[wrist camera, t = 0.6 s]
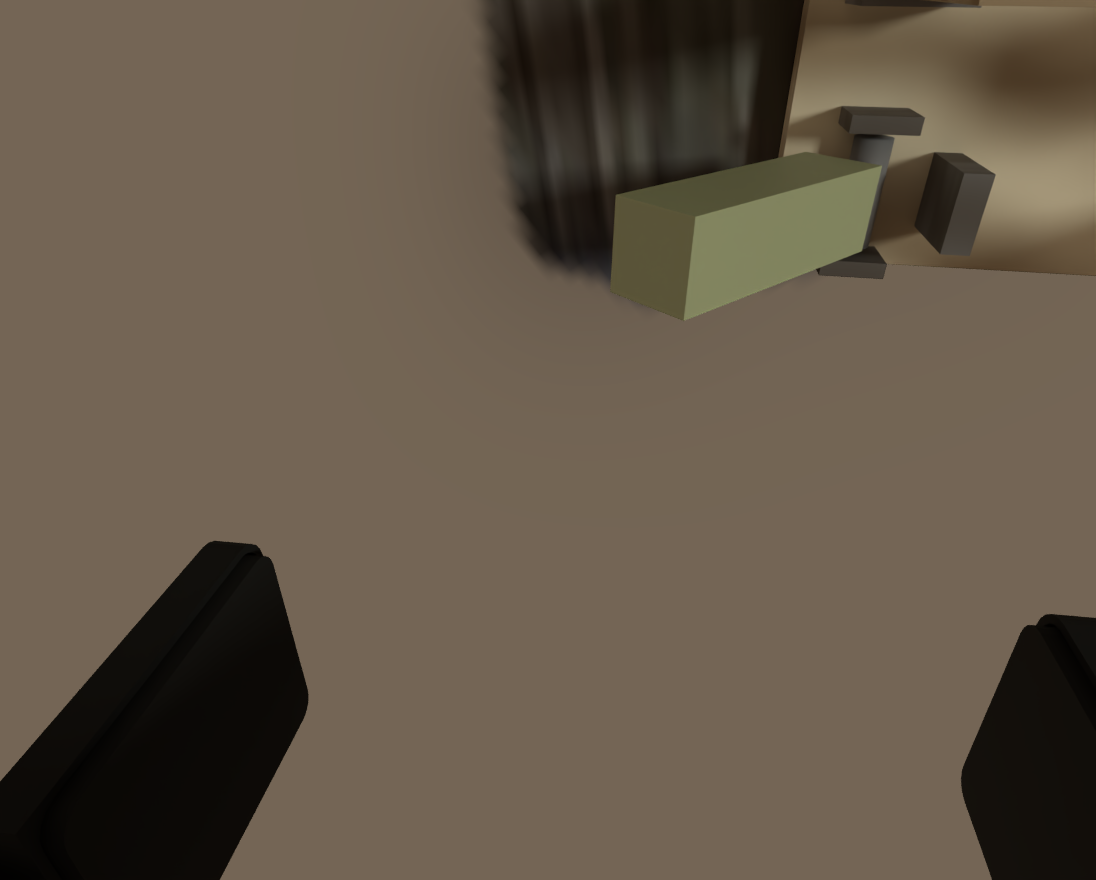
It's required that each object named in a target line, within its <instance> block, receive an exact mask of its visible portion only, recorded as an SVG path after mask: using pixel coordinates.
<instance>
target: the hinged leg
mask: <svg viewBox="0 0 1096 880" xmlns="http://www.w3.org/2000/svg"><path fill="white" fill-rule="evenodd" d="M894 140H895V138H894V137H891V136H887V135H878V134H856V135H854V140H853V144H852V149H851V153H850V158H849V160H848V159H843V158H837V157H832V156H826V155H821V154H815V153H810V152H803V153H798V154H794V155H789V156H785V157H781V158H776V159H772V160H767V161H763V162H759V163H754V164H750V165H745V166H741V167H737V168H732V169H728V170H723V171H719V172H714V173H710V174H706V175H701V176H697V177H692V178H688V179H684V180H679V181H675V182H670V183H666V184H662V185H657V186H653V187H648V188H644V189H640V190H635V191H631V192H626V193H622V194H617V195H616V200H615V218H614V236H613V254H612V272H611V289H610V292H612V293H614V294H617V295H619V296H622V297H624V298H627V299H630V300H632V301H635V302H637V303H640V304H642V305H645V306H647V307H650V308H652V309H655V310H657V311H660V312H663V313H665V314H668V315H670V316H673V317H675V318H678V319H680V320H683V321H685V320H687V319H690V318H692V317H695V316H697V315H700V314H702V313H705V312H708V311H710V310H713V309H715V308H718V307H720V306H723V305H725V304H728V303H731V302H733V301H736V300H738V299H741V298H743V297H746V296H748V295H751V294H754V293H756V292H759V291H761V290H764V289H766V288H769V287H771V286H774V285H777V284H779V283H782V282H784V281H787V280H789V279H792V278H794V277H797V276H800V275H802V274H805V273H807V272H810V271H812V270H815V269H817V268H820V267H823V266H825V265H828V264H830V263H833V262H835V261H838V260H840V259H843V258H846V257H848V256H851V255H853V254H856V253H858V252H861V251H862V249H866V248H868V246H869V242H870V238H871V234H872V230H873V226H874V222H875V218H876V213H877V209H878V205H879V201H880V197H881V193H882V189H883V185H884V181H885V177H886V173H887V168H888V164H889V160H890V156H891V152H892V148H893V144H894Z"/></svg>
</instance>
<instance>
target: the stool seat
mask: <svg viewBox="0 0 1096 880" xmlns="http://www.w3.org/2000/svg"><path fill="white" fill-rule="evenodd" d="M856 134H878V135H887V136H891V137H894V138H895V140H894V144H893V148H892V152H891V156H890V160H889V164H888V168H887V173H886V177H885V181H884V185H883V189H882V193H881V197H880V201H879V205H878V209H877V213H876V218H875V222H874V226H873V230H872V234H871V238H870V242H869V246H868V248H866V249H862V251H861V252H858V253H856V254H853V255H851V256H848V257H846V258H843V259H840V260H838V261H835V262H833V263H830V264H828V265H825V266H823V267H820V268H817V269H816V270H817V272H818V274H819V275H824V276H841V277H858V278H874V279H883V277H884V273H885V269H886V265H887V264H896V265H897V264H898V265H914V266H931V267H949V268H966V269H984V270H1001V271H1019V272H1036V273H1055V274H1072V275H1089V276H1096V0H804V6H803V12H802V18H801V24H800V30H799V36H798V42H797V48H796V54H795V60H794V66H793V72H792V78H791V84H790V90H789V96H788V102H787V108H786V114H785V120H784V126H783V132H782V138H781V144H780V150H779V156H778V158H781V157H785V156H789V155H794V154H798V153H803V152H810V153H815V154H821V155H826V156H832V157H837V158H843V159H848V160H849V158H850V153H851V149H852V144H853V140H854V135H856Z"/></svg>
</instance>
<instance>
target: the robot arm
mask: <svg viewBox="0 0 1096 880" xmlns="http://www.w3.org/2000/svg"><path fill="white" fill-rule="evenodd" d="M307 706H308V689H307V685H306V682H305V678H304V674H303V671H302V667H301V664H300V661H299V657H298V653H297V649H296V646H295V642H294V638H293V635H292V631H291V627H290V624H289V620H288V616H287V613H286V609H285V605H284V602H283V598H282V595H281V591H280V587H279V584H278V581H277V576H276V573H275V569H274V565H273V563H272V561H271V559H270V558H269V557H266V556H263V554H262V552H261V550H260V548H258V547H257V546H256V545H253V544H244V543H233V542H222V541H213V542H209V543H208V544H207V545H205V546H204V547H203V548H202V549H201V550H200V551H199V553H198V554H197V555H196V556H195V557H194V558H193V560H192V561H191V562H190V563H189V564H188V565H187V566H186V568H185V569H184V570H183V571H182V572H181V573H180V575H179V576H178V577H177V578H176V579H175V580H174V581H173V583H172V584H171V585H170V586H169V587H168V588H167V590H166V591H165V592H164V593H163V594H162V595H161V596H160V598H159V599H158V600H157V601H156V602H155V604H154V605H153V606H152V607H151V608H150V609H149V610H148V611H147V613H146V614H145V615H144V616H143V617H142V618H141V620H140V621H139V622H138V623H137V624H136V625H135V626H134V628H133V629H132V630H131V631H130V632H129V633H128V635H127V636H126V637H125V638H124V639H123V640H122V642H121V643H120V644H119V645H118V646H117V647H116V649H115V650H114V651H113V652H112V653H111V654H110V655H109V657H108V658H107V659H106V660H105V661H104V662H103V664H102V665H101V666H100V667H99V668H98V669H97V670H96V672H95V673H94V674H93V675H92V676H91V677H90V678H89V680H88V681H87V682H86V683H85V684H84V685H83V687H82V688H81V689H80V690H79V691H78V692H77V694H76V695H75V696H74V697H73V698H72V699H71V701H70V702H69V703H68V704H67V705H66V706H65V707H64V709H63V710H62V711H61V712H60V713H59V714H58V716H57V717H56V718H55V719H54V720H53V721H52V722H51V724H50V725H49V726H48V727H47V728H46V729H45V730H44V732H43V733H42V734H41V735H40V736H39V737H38V738H37V740H36V741H35V742H34V743H33V744H32V745H31V747H30V748H29V749H28V750H27V751H26V752H25V754H24V755H23V756H22V757H21V758H20V759H19V761H18V762H17V763H16V764H15V765H14V766H13V767H12V769H11V770H10V771H9V772H8V773H7V774H6V775H5V777H4V778H3V779H2V780H1V781H0V880H220V878H221V876H222V874H223V872H224V871H225V869H226V867H227V865H228V863H229V861H230V859H231V857H232V855H233V853H234V851H235V849H236V848H237V845H238V844H239V842H240V840H241V838H242V836H243V834H244V832H245V830H246V828H247V826H248V825H249V822H250V821H251V819H252V817H253V815H254V813H255V811H256V809H257V807H258V805H259V803H260V801H261V800H262V798H263V796H264V794H265V792H266V790H267V788H268V786H269V784H270V782H271V780H272V778H273V777H274V775H275V773H276V771H277V769H278V767H279V765H280V763H281V761H282V759H283V757H284V755H285V754H286V752H287V750H288V748H289V746H290V744H291V742H292V740H293V738H294V736H295V734H296V732H297V731H298V729H299V727H300V724H301V723H302V721H303V719H304V716H305V714H306V710H307ZM961 786H962V793H963V797H964V801H965V804H966V807H967V810H968V812H969V815H970V818H971V821H972V824H973V827H974V829H975V832H976V835H977V838H978V841H979V844H980V846H981V849H982V852H983V855H984V858H985V861H986V863H987V866H988V869H989V872H990V875H991V877H992V880H1096V618H1089V617H1078V616H1067V615H1055V614H1047V615H1044V616H1043V617H1041V618H1040V620H1039V621H1038V623H1037V625H1036V626H1035V625H1027V626H1026V627H1024V629H1023V630H1022V632H1021V633H1020V636H1019V638H1018V640H1017V643H1016V645H1015V647H1014V650H1013V652H1012V654H1011V657H1010V659H1009V661H1008V664H1007V666H1006V668H1005V671H1004V673H1003V675H1002V678H1001V680H1000V683H999V685H998V687H997V689H996V692H995V694H994V696H993V698H992V701H991V703H990V706H989V708H988V710H987V712H986V715H985V717H984V720H983V722H982V724H981V727H980V729H979V731H978V734H977V736H976V738H975V740H974V743H973V745H972V747H971V750H970V752H969V754H968V757H967V759H966V761H965V764H964V766H963V769H962V776H961Z"/></svg>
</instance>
